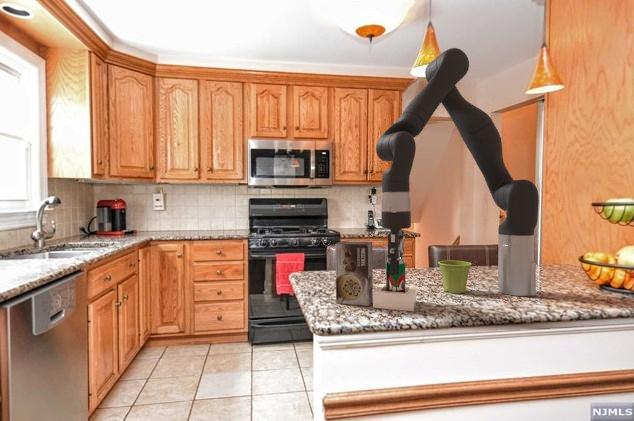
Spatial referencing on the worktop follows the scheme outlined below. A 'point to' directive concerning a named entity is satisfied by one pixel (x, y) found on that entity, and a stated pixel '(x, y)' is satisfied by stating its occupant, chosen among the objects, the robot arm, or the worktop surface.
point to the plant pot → (454, 275)
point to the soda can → (396, 278)
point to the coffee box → (354, 273)
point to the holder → (395, 298)
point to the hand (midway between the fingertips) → (396, 271)
